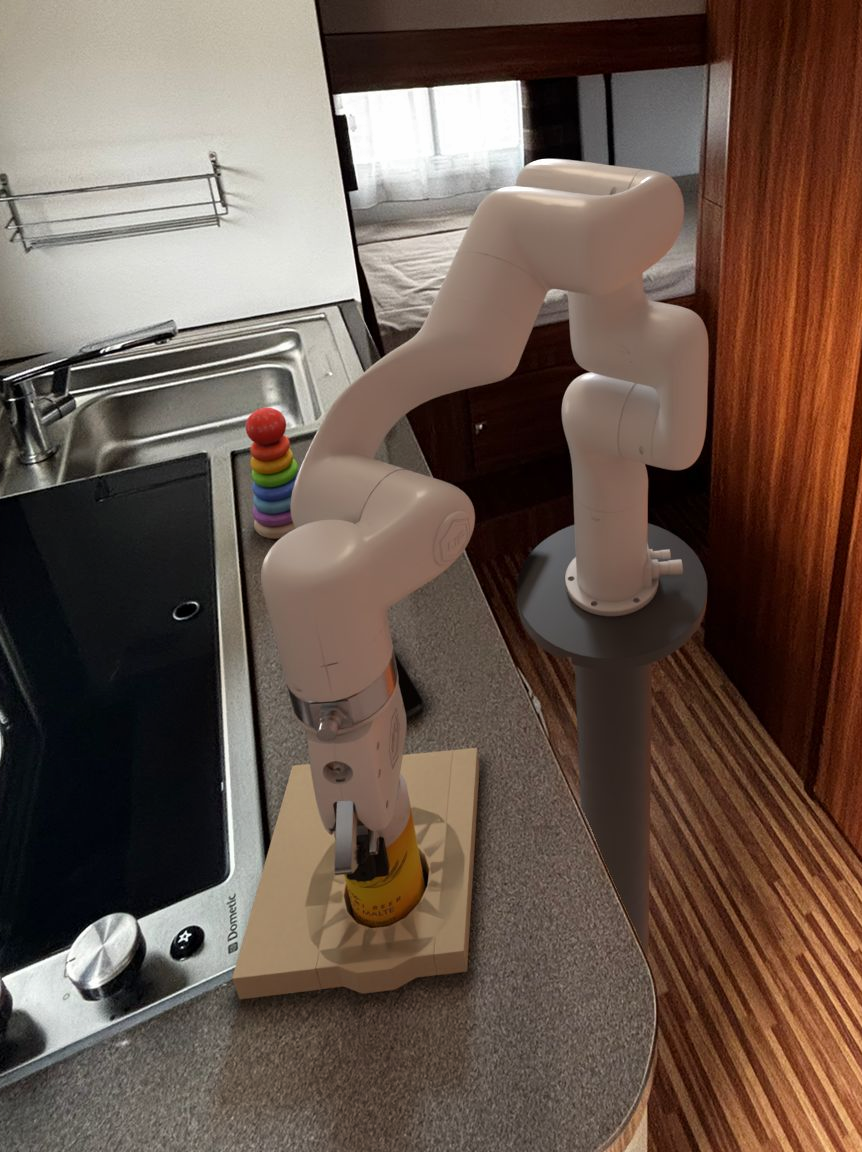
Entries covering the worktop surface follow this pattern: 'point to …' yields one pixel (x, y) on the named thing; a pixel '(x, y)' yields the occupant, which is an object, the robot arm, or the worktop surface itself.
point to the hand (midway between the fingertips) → (376, 829)
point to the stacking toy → (271, 473)
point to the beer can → (391, 871)
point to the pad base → (322, 904)
